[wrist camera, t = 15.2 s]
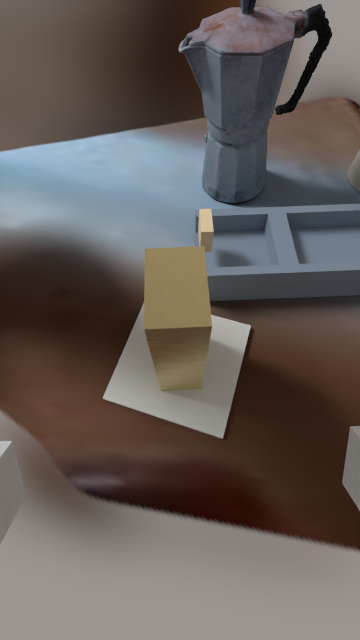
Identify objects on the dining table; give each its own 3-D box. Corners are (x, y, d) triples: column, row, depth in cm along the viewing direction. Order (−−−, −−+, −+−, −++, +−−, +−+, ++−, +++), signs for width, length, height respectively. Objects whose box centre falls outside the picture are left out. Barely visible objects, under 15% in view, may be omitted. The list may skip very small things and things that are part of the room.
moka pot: (172, 170, 46) (164, -24, 29) (271, 149, 48) (320, -47, 30) (192, 216, 42) (197, 22, 24) (299, 191, 44) (376, -6, 26)
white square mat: (103, 399, 31) (102, 398, 31) (146, 299, 37) (146, 297, 36) (222, 439, 30) (222, 438, 29) (250, 327, 35) (250, 325, 34)
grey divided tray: (199, 301, 36) (202, 257, 29) (194, 240, 40) (196, 188, 33) (418, 292, 36) (475, 246, 29) (391, 232, 40) (435, 178, 33)
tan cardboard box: (160, 391, 31) (144, 329, 19) (160, 335, 34) (144, 248, 22) (201, 389, 31) (212, 326, 19) (197, 333, 34) (204, 246, 22)
